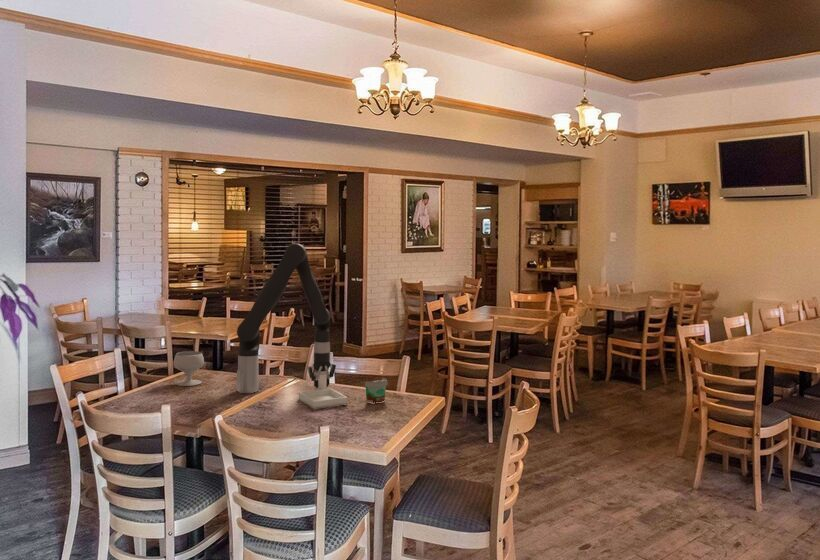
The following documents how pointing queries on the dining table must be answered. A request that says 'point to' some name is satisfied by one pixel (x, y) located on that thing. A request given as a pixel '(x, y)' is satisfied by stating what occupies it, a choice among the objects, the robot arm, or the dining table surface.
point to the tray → (322, 398)
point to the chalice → (188, 366)
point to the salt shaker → (322, 381)
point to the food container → (376, 390)
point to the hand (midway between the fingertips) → (321, 386)
